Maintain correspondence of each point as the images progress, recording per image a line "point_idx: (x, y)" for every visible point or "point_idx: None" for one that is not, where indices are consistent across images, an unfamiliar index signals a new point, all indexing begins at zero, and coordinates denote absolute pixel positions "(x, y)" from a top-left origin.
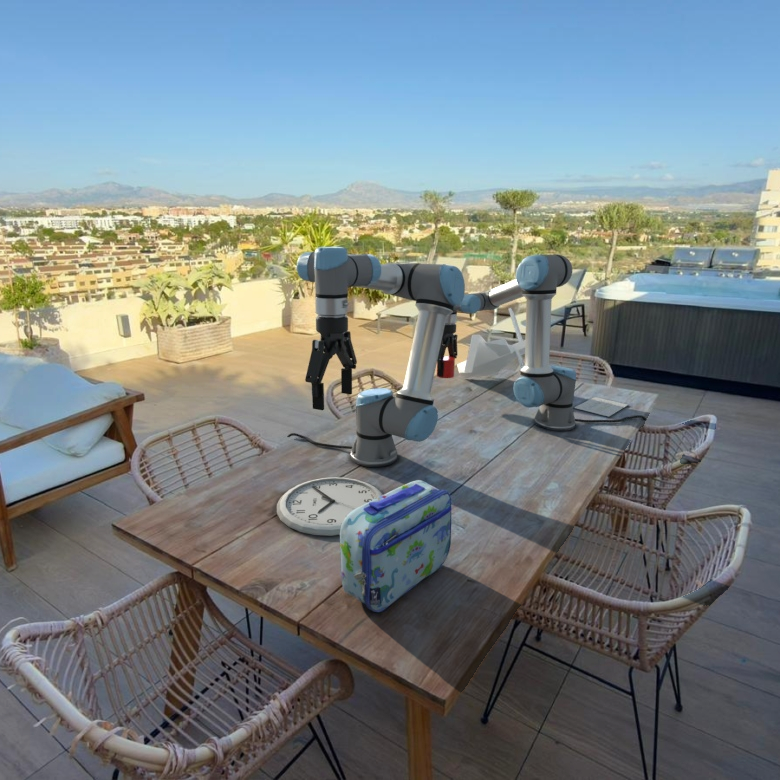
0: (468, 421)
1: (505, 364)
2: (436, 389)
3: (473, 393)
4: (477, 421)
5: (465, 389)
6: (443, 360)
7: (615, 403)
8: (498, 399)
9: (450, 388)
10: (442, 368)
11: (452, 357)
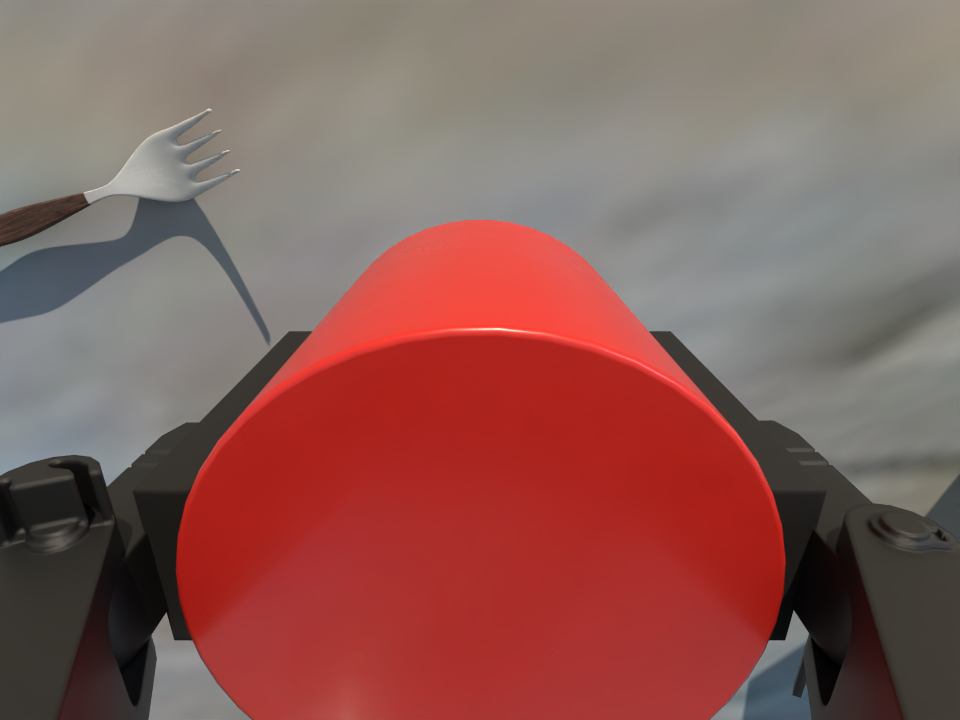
0: (159, 666)
1: None
2: (696, 24)
3: (774, 417)
4: (206, 697)
5: (869, 296)
6: (212, 662)
7: None
8: None
9: (826, 144)
10: None
11: (707, 688)
